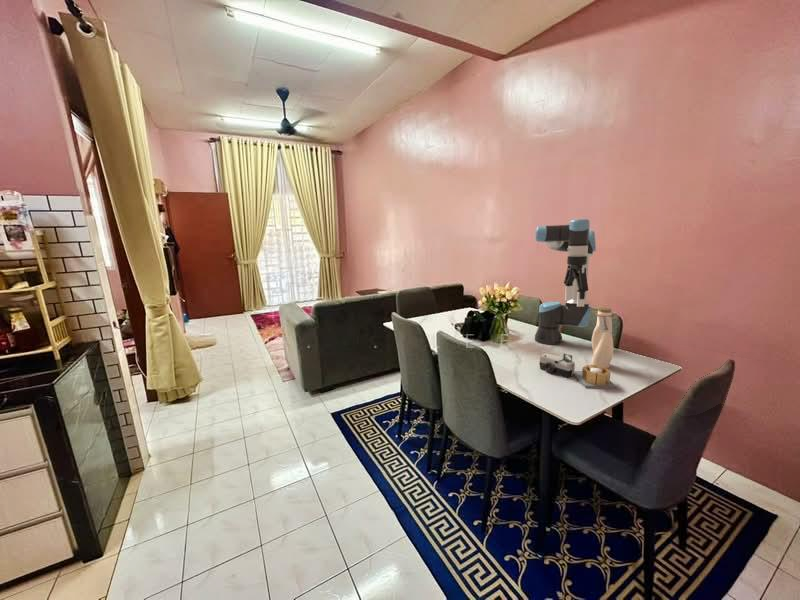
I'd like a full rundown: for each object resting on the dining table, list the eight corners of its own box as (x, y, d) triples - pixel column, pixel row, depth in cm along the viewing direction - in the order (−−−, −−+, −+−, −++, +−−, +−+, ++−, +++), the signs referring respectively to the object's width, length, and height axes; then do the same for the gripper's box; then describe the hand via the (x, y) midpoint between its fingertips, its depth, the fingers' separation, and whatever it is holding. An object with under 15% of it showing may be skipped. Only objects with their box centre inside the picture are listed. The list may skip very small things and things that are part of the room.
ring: (602, 375, 143) (602, 365, 142) (613, 385, 134) (614, 374, 133) (579, 375, 144) (579, 365, 143) (588, 385, 135) (589, 374, 134)
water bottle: (616, 370, 150) (621, 311, 145) (594, 369, 152) (599, 311, 146) (607, 361, 160) (612, 306, 154) (587, 360, 162) (591, 306, 156)
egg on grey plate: (571, 372, 149) (572, 360, 148) (598, 373, 148) (599, 360, 147) (585, 387, 135) (586, 374, 134) (616, 388, 133) (617, 374, 132)
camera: (536, 369, 155) (537, 349, 153) (545, 365, 159) (546, 346, 157) (566, 380, 143) (568, 359, 141) (576, 375, 147) (577, 355, 145)
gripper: (558, 254, 153) (555, 297, 157) (580, 258, 129) (576, 309, 133) (574, 253, 152) (572, 297, 156) (600, 257, 128) (596, 309, 132)
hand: (574, 303), depth 145 cm, fingers open, 13 cm apart
